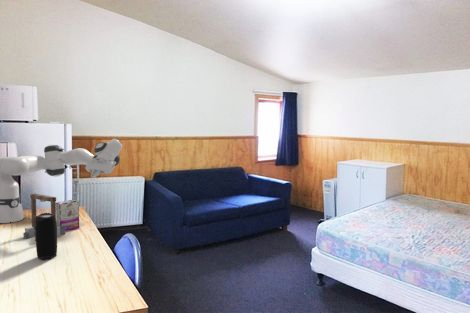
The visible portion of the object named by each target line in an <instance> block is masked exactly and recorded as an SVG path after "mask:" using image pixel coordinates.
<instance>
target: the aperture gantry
mask: <svg viewBox="0 0 470 313" xmlns="http://www.w3.org/2000/svg"><path fill="white" fill-rule="evenodd" d="M29 195H30V196H29V197H30V203H31V205H30V207H31V208H30V210H31V211H30V212H31V227H34V230H35V227H36V216H37V200H39V202H40V203H44V202H48V203H49V202H50V213H51V214H56V203H57V197H56V196H52V195H51V196H50V195H45V194H39V193H30V194H29Z"/></svg>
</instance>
